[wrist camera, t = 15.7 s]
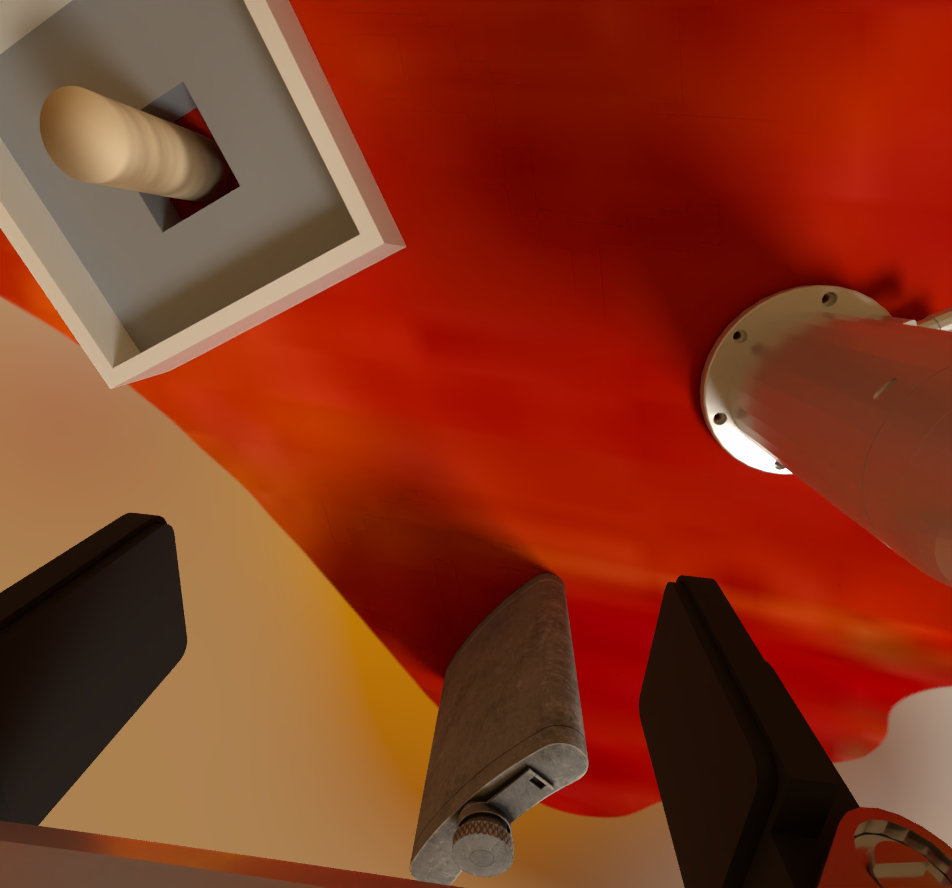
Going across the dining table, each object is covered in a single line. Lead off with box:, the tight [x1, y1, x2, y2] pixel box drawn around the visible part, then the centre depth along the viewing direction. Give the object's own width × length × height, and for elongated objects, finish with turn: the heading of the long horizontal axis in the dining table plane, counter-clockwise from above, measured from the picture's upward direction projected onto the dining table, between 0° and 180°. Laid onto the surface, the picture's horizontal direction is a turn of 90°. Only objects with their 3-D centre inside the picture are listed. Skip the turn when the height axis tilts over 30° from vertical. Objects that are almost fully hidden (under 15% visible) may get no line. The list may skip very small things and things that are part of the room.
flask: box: [410, 573, 588, 885], centre depth 35 cm, size 4×14×18 cm, turn 143°
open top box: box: [0, 0, 407, 389], centre depth 31 cm, size 20×20×6 cm
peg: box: [40, 86, 232, 204], centre depth 29 cm, size 4×4×10 cm
